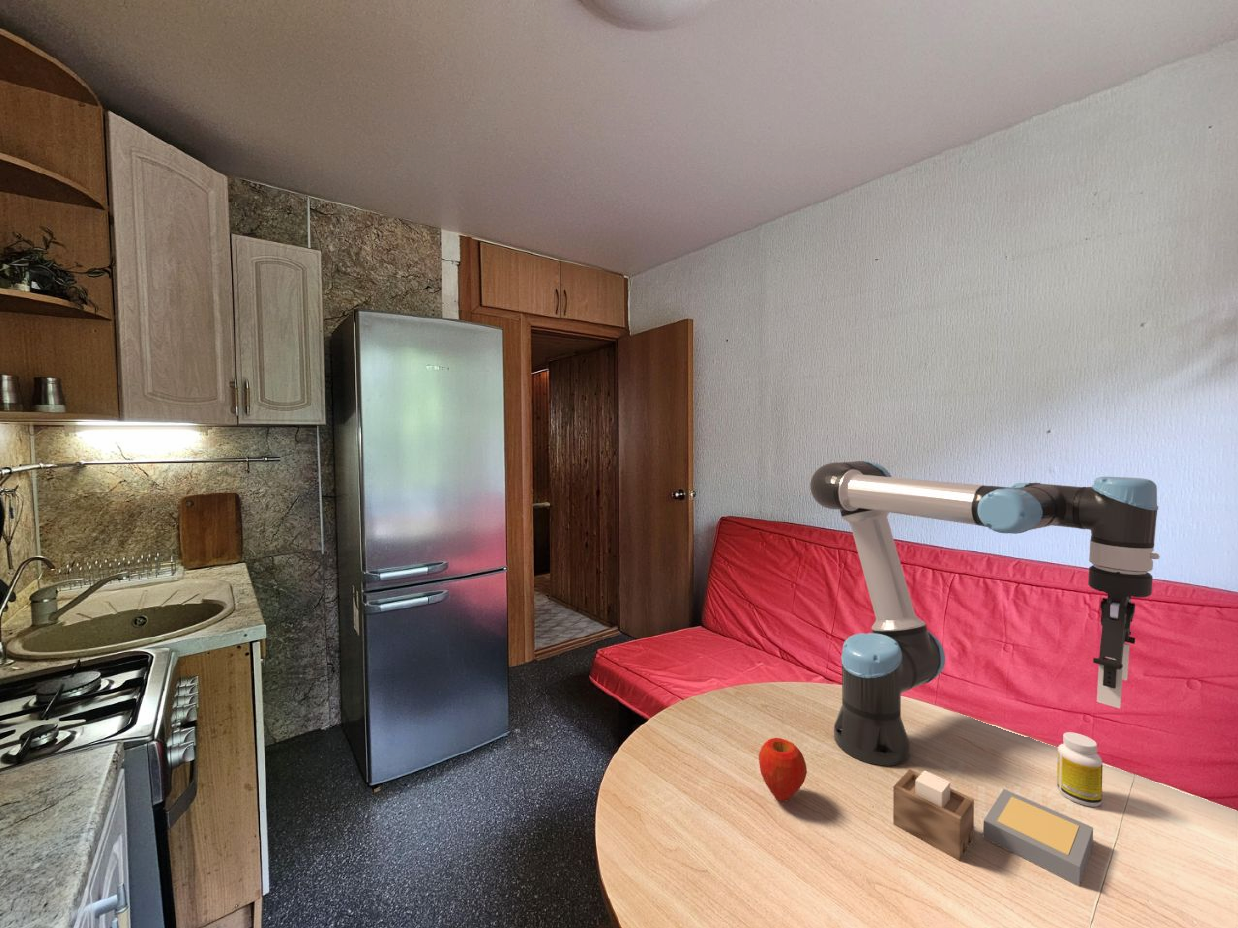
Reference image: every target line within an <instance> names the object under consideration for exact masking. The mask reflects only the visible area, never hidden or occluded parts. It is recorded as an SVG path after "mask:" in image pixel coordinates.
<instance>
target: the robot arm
mask: <svg viewBox="0 0 1238 928" xmlns="http://www.w3.org/2000/svg"><path fill="white" fill-rule="evenodd" d="M809 487H810V494H811V495H812V498H813V499H814V500H815V501H816V503H818V504H819V505H820V506H821V507H824V508H826V509H829V510H839V512H840V516H841V519H843V521H846V522H847V523H848V524H849V526H850V529H851V532H852V535H853V539H854V543H855V547H856V550H857V554H858V558H859V562H860V565H861V568H862V572H863V576H864V580H865V583H866V588H867V591H868V595H869V599H870V601H871V602H870V603H871V605H872V609H873V613H874V617H875V621H874V623H873V624H872V625H871V630H872V632H868V633H863V632H860V633H857V634H856V633H855V634H853V635H850V636H849V637H848V638H846V639H845V640H844V642H843V645H842V653H841V656H840V657H841V658H840V659H841V671H842V672H841V691H842V692H841V697H842V698H841V699H842V701H841V707H840V708H839V711H838V714H837V717H836V720H835V722H834V724H833V739H834V741H835V743H836V745H837V747H838V748H840V749H841V750H842V751H843V752H845V753H846V754H847V755H849V756H851V757H852V758H856V759H857V760H860V761H862V762H865V763H867V764H868V763H869V764H873V765H878V766H897V765H901V764H904V763H905V762H907V761H908V760H909V759H910V756H911V744H910V740H909V737H908V734H907V731H906V728H905V725H904V722H903V719H902V715H901V713H902V712H901V709H902V705H901V703H902V700H901V699H902V694H903V693H905V692H907V691H910V690H911V689H915V688H917V687H919V686H921V685H926V684H928V683H930V682H932V681H933V680H935V678H937V677H939V675H941V673H942V672H943V671H944V668H945V665H946V653H945V650H944V647H943V644H942V643H941V642H940V640H939V639H938V638H937V637H935V636H934V634H933V633H932V632H930V631H929V630H928V628H927V624H926V622H925V621H924V620H922V619H921V618H919V617H918V616H917V615H916V612H915V608H914V605H913V602H912V598H911V594H910V592H909V589H908V585H907V581H906V578H905V573H904V571H903V567H902V564H901V560H900V557H899V554H898V550H897V546H896V543H895V540H894V537H893V533H892V529H891V527H890V522H889V519H888V516H889V514H890V513H892V514H897V515H905V516H913V517H920V518H926V519H932V520H940V521H947V522H953V523H961V524H967V525H974V526H980V527H985V528H988V529H989V530H991V531H993V532H996V533H998V534H1012V535H1013V534H1017V535H1018V534H1022V533H1026V532H1028V531H1032V530H1036V529H1041V528H1046V527H1052V526H1053V527H1054V526H1055V527H1056V526H1057V527H1065V528H1073V529H1080V530H1090V534H1091V535H1090V541H1089V542H1090V543H1089V555H1088V556H1089V558H1088V559H1089V560H1088V561H1089V563H1091V564H1092V565H1090V566H1089V568H1088V583H1087V584H1088V586H1089V587H1090V588H1091V589H1093V590H1095V591H1098V592H1103V593H1105V594H1106V595H1107V598H1106V597H1102V599H1101V601H1100V606H1099V607H1100V611H1101V615H1100V626H1101V627H1102V628H1101V637H1100V644H1099V645H1100V646H1099V654H1098V658H1096V657H1093V659H1092V660H1093V661H1092V663H1093V664H1097V665H1098V673H1097V674H1098V675H1097V691H1096V702H1097V703H1100V704H1102V705H1106V706H1110V707H1114V708H1116V709H1121V708H1122V707H1121V706H1122V704H1121V703H1122V688H1123V681H1128V675H1129V659H1130V644H1133V645H1135V644H1136V638H1135V637H1133V636H1130V635H1132V631H1131V624H1132V622H1133V621H1134V620H1133V619H1134V615H1135V611H1136V603H1135V602H1132V597H1133V598H1140V599H1141V598H1149V597H1150V596H1151V595H1152V591H1153V575H1151V573H1149V572H1151V571H1153V567H1154V560H1159V559H1160V555H1159V553H1157V552H1154V551H1155V549H1154V548H1155V541H1156V539H1155V538H1156V528H1157V527H1156V526H1157V518H1158V517H1157V516H1158V510H1159V506H1158V493H1157V492H1158V487H1157V484H1156V483H1155V482H1154V481H1152V480H1151V479H1148V478H1141V477H1125V476H1123V477H1119V476H1099V477H1096V478H1095V479H1094V481H1093V485H1092V486H1074V485H1073V486H1071V485H1061V484H1049V483H1048V484H1047V483H1041V482H1017V483H1015V484H1013V485H1012V486H1011V487H1009V486H1008V487H1007V486H997V485H981V484H972V483H963V482H962V483H961V482H950V481H938V480H929V479H928V480H927V479H914V478H903V477H894V476H893V477H892V475H891V473H890V472H889V471H888V470H887V469H886V468H885V467H884V466H883V465H882V464H881V465H880V464H879V463H877V462H873V461H865V460H859V461H844V462H829V463H827V464H823V465H822V466H820V467H819V468H817V469H816V470H815V471H814V473H813V475H812V477H811V479H810V483H809Z"/></svg>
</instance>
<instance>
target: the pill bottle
mask: <svg viewBox="0 0 1238 928" xmlns="http://www.w3.org/2000/svg"><path fill="white" fill-rule="evenodd" d="M1062 740H1063V741H1062V742H1063V743H1060V744H1059V745H1058V747H1057V760H1056V762H1057V764H1056V765H1057V770H1056V772H1057V773H1056V774H1057V775H1056V776H1057V777H1056V779H1057V780H1056V784H1057V785H1056V787H1057V790H1058V792H1059V793H1060V794H1061V795H1062V796H1064V797H1065V798H1066V799H1068V800H1070V801H1071V802H1073V803H1076V804H1079V805H1081V806H1082V805H1083V806H1086V807H1100V806H1101V804H1102V801H1103V760H1102V758H1101V756H1100V755H1099V754H1098V753H1097V752H1098V744H1097V742H1096V741H1095V740H1094V739H1093V738H1090V737H1089V736H1087V735H1083V734H1082V733H1081V734H1080V733H1077V732H1073V731H1067V732H1064V733H1063V737H1062Z"/></svg>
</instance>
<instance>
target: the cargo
mask: <svg viewBox="0 0 1238 928" xmlns="http://www.w3.org/2000/svg"><path fill="white" fill-rule="evenodd" d="M950 788H951V782H950V781H948V780H946V779H944V778H942V777H940V776H938V775H935V774H934V773H931V772H929V771H927V770H923V771H922V772H921V775H920V776H919V777H918V778H917V779H916V780H915V794H916V795H918V796H920V797H922V798H924V799H926V800H928V801H930V802H932V803H934V804H936V805H938V806H940V807H943V808H944V806H945V805H946V804H947V802H948V801H949V800H950Z"/></svg>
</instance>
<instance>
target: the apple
mask: <svg viewBox="0 0 1238 928" xmlns="http://www.w3.org/2000/svg"><path fill="white" fill-rule="evenodd" d="M758 764H759V769H760V773H761V774H760V775H761V776H762V779H763V781H764V783H765V785H766V786H767V788H768V790H769V791H770V793H771V794H772V796H773V798H775V799H777V800H778V801H779V802H787V801H789V800H791V799H792V798H793V796H794V795H796V793H797V792H798V791H799V790H800V789H801V787H802V785H804V783H805V780H806V777H807V773H808V771H807V769H808V768H807V764H806V760H805V757H804V755H803V753H802V752H801V750H800V748H798V747H797V746H796V745H795V743H793V742H792V741H789V740H787V739H784V738H781V737H774V738H773V737H772V738H770V739H768V740H767V741H766V742H764V743H763V745H762V746H761V749H760V751H759V753H758Z"/></svg>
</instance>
